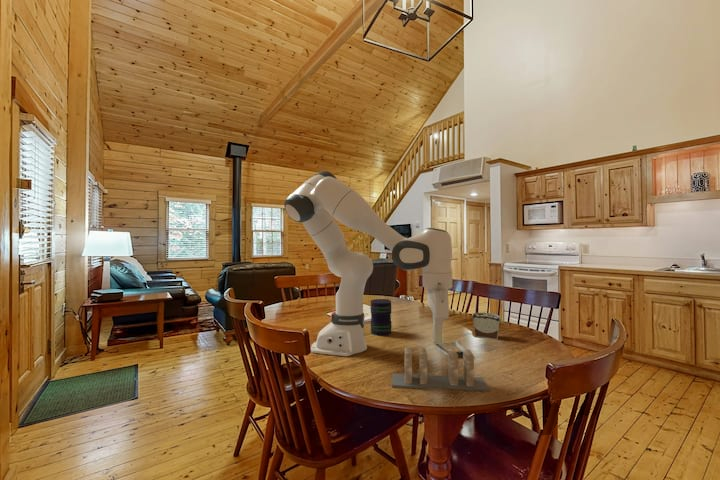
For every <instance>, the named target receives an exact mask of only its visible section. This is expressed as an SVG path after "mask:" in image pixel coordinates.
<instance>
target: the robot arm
mask: <svg viewBox="0 0 720 480" xmlns="http://www.w3.org/2000/svg"><path fill="white" fill-rule="evenodd" d="M283 204H284V206H283V207H284V210H285V213H286V214H287V215H288V217H289V218H291V219H292V220H293V221H295V222H296V223H300V224H301V223H302V225H303V228H304V229H305V230H306V232H307V234H308V235H309V237H310V238H311V239H312V240H313V242H314V243H315V244H316V246H317V247H318V249H319V250H320V252H321V253H322V254H323V257H324V259H325V261H326V263H327V267H328V270H329V271H330V272H331V273H332V274H333V275H334V276H336V277H339V278H341V279H340V284H339V289H338V290H337V292H336V293H335V311H332V312H331V314H330V322H329V323H328V324H327V325H326V326H324V327H323V328H322V329H321V330H320V331H318V333H317V338H316V341H314V342H313V343H312V344H311V345H310V351H311V353H314V354H323V355H330V356H331V355H332V356H341V357H350V356H352V355H356V354H360V353H362V352H364V351H366V350H367V349H368V344H367V341H366V338H365V337H366V336H365V329H364V328H365V313H364V293H365V287H366V283H367V281H368V279H369V278H370V276H371V275H372V273H373V271H374V262H373V261H372V258H370V257H369V256H368V255H366V253H362V252H360V251H352V250H350V249H349V247H348V245H347V243H346V241H345V236H346V235H345V234H344V232H343V230H342V229H341V228H340V226H339V224H337V222H336V221H338V222H339V223H341V224H342V225H343V226H346V227H348V228H349V229H352V230H355V231H359V232H361V233H362V232H363V233H365V234H367V235H369V236H371V237H373V238H374V239H376V240H377V241H378V242H379V243H380V244H382V245H383V246H385V248H386V249H388V250H390V251H391V259H392V262H393V264H394V265H395V266H396V267H397V268H398V269H400V270H403V271H413V270H418V269H422V287H423V288H425V290H426V300H427V304H428V306H429V308H430V310H431V315H432V316H433V314H434V316H435V318H436V329H437V330H442V331H443V323H444V320H448V319H449V318H450V317H449V316H450V305H449V304H450V303H449V300H450V299H449V294H448V293H449V289H451V288H453V269H452V260H453V245H452V237H451V235H450V233H449V232H448V231H446V230H444V229H439V228H435V227H427V228H424V229H423V230H422V231H420V232H418V233H417V234H415V235H413V236H410V237H406V236H405V235H402V234H400V233H399V232H398V231H397V230H395V228H393V227H392V226H390V225H389V224H387V223H386V222H385V221H384V220H383V219H382V218H381V217H380V216H379V214H377V213H376V211H375V210H374V209H373V207H372V206H371V205H370V204H369V203H368V202H367V200H365V198H364V197H363V196H362V195H361V194H359V193H358V192H357V191H355V189H353V188H352V187H350V186H349V185H347V184H346V183H344V182H343V181H341V180H339V179H337V177H336V176H335V174H333V173H331V172H330V171H328V170H322V171H319V172H317V173H315V175H313V176H312V177H310V178H308V179H307V180H305V181H304V182H303V183H302V184H301V185H300V186H299V187H297V188H296V189H295V190H294V191H293V192H292V193H290V194H289V195H288V196H287V197H286V198H285V200H284V202H283ZM335 220H336V221H335Z"/></svg>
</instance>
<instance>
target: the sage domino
mask: <svg viewBox="0 0 720 480" xmlns="http://www.w3.org/2000/svg"><path fill="white" fill-rule="evenodd" d="M432 341H433V343H434V342H435V344H442V343H443V329H442V330H437V329H436V318H435V316H434V314H433V315H432ZM435 344H434V345H435Z"/></svg>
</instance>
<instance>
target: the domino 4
mask: <svg viewBox="0 0 720 480" xmlns="http://www.w3.org/2000/svg"><path fill="white" fill-rule="evenodd" d="M474 361H475V356H474V354H473V352H472V351H471V349H466V350H464V349H463V357H462V376H463V379H464V381H465V383H466V385H467V386H474V377H475V363H474Z"/></svg>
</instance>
